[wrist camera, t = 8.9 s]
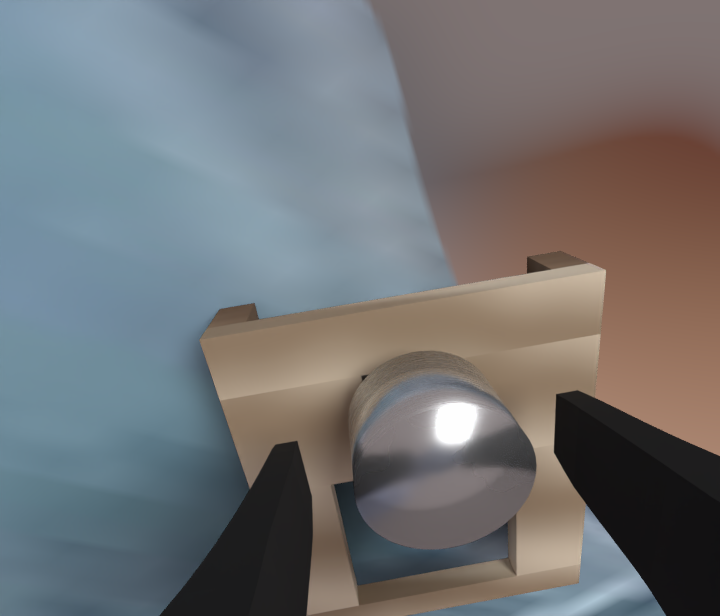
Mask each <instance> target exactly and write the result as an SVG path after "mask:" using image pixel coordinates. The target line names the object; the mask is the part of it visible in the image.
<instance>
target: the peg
mask: <svg viewBox="0 0 720 616" xmlns="http://www.w3.org/2000/svg"><path fill="white" fill-rule="evenodd" d="M348 426H349V438H350V449H351V461H352V472H353V484H354V494H355V501H356V504H357V507H358V510H359V512H360V514H361V516H362V518H363V519H364V521H365V522H366V523H367V524H368V526H369V527H370V528H371V529H373V530H374V531H375V532H376V533H377V534H379V535H380V536H382V537H383V538H385V539H387V540H389V541H391V542H393V543H396V544H399V545H402V546H406V547H410V548H417V549H445V548H452V547H456V546H461V545H465V544H467V543H470V542H473V541H476V540H478V539H480V538H483V537H485V536H487V535H488V534H490V533H492V532H494V531H495V530H497V529H498V528H500V527H501V526H503V525H504V524H505V523H506V522H507V521H509V520H510V519H511V518H512V517H513V516H514V515H515V514H516V513H517V512H518V511H519V510H520V508H521V507H522V505H523V504H524V503H525V501H526V500H527V498H528V496H529V494H530V492H531V490H532V487H533V485H534V481H535V477H536V467H537V464H536V456H535V452H534V448H533V446H532V444H531V442H530V440H529V438H528V437H527V435H526V434H525V433H524V431H523V430H522V428H521V427H520V426H519V424H518V423H517V421H516V420H515V418H514V417H513V416H512V414H511V413H510V411H509V410H508V409H507V407H506V406H505V404H504V403H503V402H502V400H501V399H500V397H499V396H498V395H497V393H496V392H495V390H494V389H493V387H492V386H491V385H490V383H489V382H488V380H487V379H486V378H485V376H484V375H483V373H482V372H481V371H480V370H479V369H478V368H477V367H476V366H475V365H473V364H472V363H471V362H469V361H467V360H466V359H464V358H462V357H459V356H457V355H454V354H451V353H447V352H442V351H418V352H411V353H408V354H404V355H401V356H398V357H395V358H393V359H391V360H389V361H387V362H385V363H383V364H382V365H380V366H379V367H377V368H376V369H375V370H374V371H372V372H371V373H370V374H369V375H363V376H362V383H361V384H360V386H359V387H358V389H357V390H356V392H355V394H354V396H353V398H352V401H351V404H350V408H349V413H348Z"/></svg>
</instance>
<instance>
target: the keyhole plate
mask: <svg viewBox="0 0 720 616" xmlns="http://www.w3.org/2000/svg"><path fill="white" fill-rule="evenodd" d="M605 277H606V270H604V269H602V268H600V267H597V266H595V265H593V264H590V263H588V262H586V261H583V260H581V259H578V258H576V257H574V256H571V255H569V254H566V253H564V252H562V251H558V252H553V253H547V254H541V255H535V256H529V257H528V258H527V274H522V275H517V276H511V277H505V278H499V279H493V280H487V281H482V282H476V283H471V284H464V285H458V286H452V287H446V288H441V289H435V290H429V291H423V292H417V293H411V294H405V295H400V296H394V297H388V298H382V299H376V300H370V301H365V302H359V303H353V304H347V305H341V306H335V307H330V308H324V309H318V310H312V311H306V312H300V313H294V314H289V315H283V316H277V317H271V318H265V319H259V318H258V315H257V311H256V307H255V303H253V304H247V305H241V306H235V307H229V308H224V309H220V310H219V311H218V313H217V314H216V316H215V317H214V319H213V320H212V322H211V323H210V325H209V326H208V328H207V329H206V331H205V332H204V334H203V335H202V337H201V338H200V343H201V346H202V349H203V352H204V355H205V358H206V361H207V364H208V367H209V370H210V373H211V376H212V379H213V382H214V385H215V388H216V391H217V394H218V396H219V399H220V402H221V405H222V408H223V411H224V414H225V417H226V420H227V423H228V426H229V429H230V432H231V435H232V438H233V441H234V444H235V447H236V450H237V452H238V455H239V458H240V461H241V464H242V467H243V470H244V473H245V476H246V479H247V482H248V485H249V488H251V487H252V485H253V483H254V481H255V479H256V478H257V476H258V474H259V472H260V470H261V469H262V467H263V465H264V463H265V461H266V459H267V457H268V455H269V454H270V452H271V450H272V448H273V447H274V446H275V445H276V444H281V443H287V442H292V441H298V445H299V449H300V452H301V456H302V460H303V464H304V468H305V472H306V475H307V479H308V483H309V487H310V491H311V494H312V509H313V543H312V556H311V569H310V581H309V593H308V605H307V616H407V615H412V614H418V613H423V612H428V611H434V610H439V609H444V608H449V607H455V606H460V605H465V604H471V603H476V602H481V601H487V600H492V599H497V598H503V597H508V596H513V595H518V594H524V593H529V592H534V591H540V590H545V589H550V588H556V587H561V586H566V585H571V584H577V583H579V573H580V562H581V551H582V539H583V528H584V516H585V505H586V503H585V502H584V500H583V499H582V498H581V496H580V495H579V494H578V492H577V491H576V489H575V488H574V487H573V485H572V483H571V482H570V480H569V478H568V477H567V475H566V473H565V472H564V470H563V468H562V466H561V465H560V463H559V461H558V459H557V457H556V456H555V454H554V433H555V408H556V394H559V393H565V392H570V391H576V390H578V391H581V392H583V393H585V394H588V395H590V396H592V397H594V398H595V390H596V379H597V368H598V357H599V345H600V334H601V322H602V311H603V299H604V288H605ZM418 351H442V352H447V353H451V354H454V355H457V356H459V357H462V358H464V359H466V360H467V361H469V362H471V363H472V364H473V365H475V366H476V367H477V368H478V369H479V370H480V371H481V372H482V373H483V375H484V376H485V378H486V379H487V380H488V382H489V383H490V385H491V386H492V387H493V389H494V390H495V392H496V393H497V395H498V396H499V397H500V399H501V400H502V402H503V403H504V404H505V406H506V407H507V409H508V410H509V411H510V413H511V414H512V416H513V417H514V418H515V420H516V421H517V423H518V424H519V426H520V427H521V428H522V430H523V431H524V433H525V434H526V435H527V437H528V438H529V440H530V442H531V444H532V446H533V448H534V452H535V456H536V464H537V467H536V477H535V481H534V485H533V487H532V490H531V492H530V494H529V496H528V498H527V500H526V501H525V503H524V504H523V505H522V507H521V508H520V510H519V511H518V512H517V513H516V514H515V515H514V516H513V517H512V518H511V519H510V520H509V521H508V558H504V559H499V560H493V561H488V562H483V563H477V564H472V565H466V566H461V567H456V568H450V569H445V570H440V571H434V572H429V573H424V574H418V575H413V576H407V577H402V578H397V579H391V580H386V581H381V582H375V583H370V584H365V585H359V586H357V582H356V577H355V573H354V569H353V565H352V560H351V556H350V552H349V547H348V543H347V539H346V534H345V530H344V526H343V521H342V517H341V513H340V508H339V504H338V500H337V495H336V491H335V487H334V484H338V483H344V482H349V481H353V472H352V461H351V449H350V438H349V426H348V413H349V408H350V404H351V401H352V398H353V396H354V394H355V392H356V390H357V389H358V387H359V386H360V384H361V383H362V376H363V375H369V374H370V373H371V372H372V371H374V370H375V369H376V368H377V367H379V366H380V365H382V364H383V363H385V362H387V361H389V360H391V359H393V358H395V357H398V356H401V355H404V354H408V353H411V352H418Z"/></svg>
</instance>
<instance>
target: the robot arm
mask: <svg viewBox="0 0 720 616" xmlns="http://www.w3.org/2000/svg"><path fill="white" fill-rule="evenodd" d="M554 454H555V456H556V457H557V459H558V461H559V463H560V465H561V466H562V468H563V470H564V472H565V473H566V475H567V477H568V478H569V480H570V482H571V483H572V485H573V487H574V488H575V489H576V491H577V492H578V494H579V495H580V496H581V498H582V499H583V500H584V502H585V503H586V504H587V506H588V507H589V508H590V510H591V511H592V512H593V514H594V515H595V516H596V518H597V519H598V520H599V522H600V523H601V524H602V526H603V527H604V528H605V530H606V531H607V532H608V533H609V535H610V536H611V537H612V539H613V540H614V541H615V543H616V544H617V545H618V547H619V548H620V549H621V551H622V552H623V553H624V555H625V556H626V557H627V558H628V560H629V561H630V562H631V564H632V565H633V566H634V568H635V569H636V571H637V572H638V573H639V575H640V576H641V578H642V579H643V580H644V582H645V583H646V585H647V586H648V588H649V589H650V591H651V592H652V594H653V595H654V597H655V599H656V600H657V602H658V603H659V605H660V606H661V608H662V610H663V611H664V613H665V614H666V616H720V456H718V455H716V454H713V453H711V452H709V451H707V450H704V449H702V448H700V447H697V446H695V445H693V444H690V443H688V442H686V441H684V440H681V439H679V438H677V437H675V436H672V435H670V434H668V433H666V432H664V431H662V430H660V429H657V428H656V427H654V426H651V425H649V424H647V423H645V422H643V421H641V420H639V419H637V418H635V417H633V416H631V415H628V414H627V413H625V412H623V411H621V410H619V409H617V408H614V407H612V406H611V405H608V404H606V403H604V402H602V401H600V400H598V399H596V398H594V397H592V396H590V395H588V394H585V393H583V392H581V391H578V390H576V391H570V392H565V393H559V394H556V408H555V433H554ZM312 543H313V509H312V494H311V491H310V487H309V483H308V479H307V475H306V472H305V468H304V464H303V460H302V456H301V452H300V449H299V445H298V441H292V442H287V443H281V444H276V445H275V446H274V447H273V448H272V450H271V452H270V454H269V455H268V457H267V459H266V461H265V463H264V465H263V467H262V469H261V470H260V472H259V474H258V476H257V478H256V479H255V481H254V483H253V485H252V487H251V488H250V490H249V492H248V493H247V495H246V497H245V498H244V500H243V502H242V503H241V505H240V507H239V508H238V510H237V512H236V513H235V515H234V516H233V518H232V519H231V521H230V523H229V524H228V526H227V527H226V529H225V530H224V532H223V533H222V535H221V536H220V538H219V539H218V541H217V542H216V544H215V545H214V547H213V548H212V549H211V551H210V552H209V554H208V555H207V556H206V558H205V559H204V561H203V562H202V563H201V565H200V566H199V567H198V569H197V570H196V571H195V573H194V574H193V575H192V576H191V578H190V579H189V580H188V582H187V583H186V584H185V586H184V587H183V588H182V589H181V591H180V592H179V593H178V594H177V595H176V597H175V598H174V599H173V600H172V601H171V603H170V604H169V605H168V606H167V607H166V609H165V610H164V611H163V612H162V613H161V614H160V616H307V605H308V593H309V581H310V569H311V556H312Z"/></svg>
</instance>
